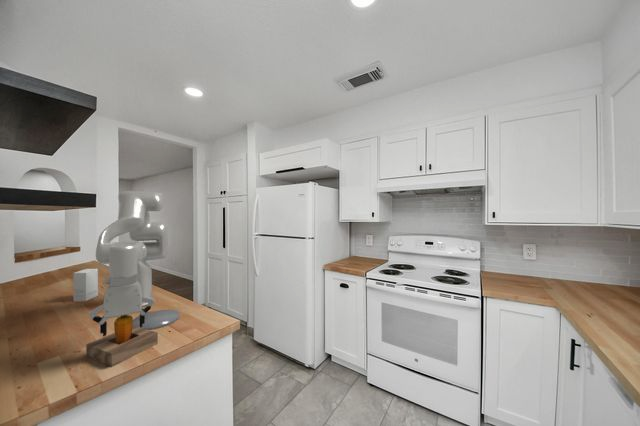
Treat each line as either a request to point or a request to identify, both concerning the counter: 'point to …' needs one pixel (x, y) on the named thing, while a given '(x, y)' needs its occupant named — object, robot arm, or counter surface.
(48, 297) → the counter surface
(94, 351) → the pocket block
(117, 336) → the carrot
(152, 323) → the plate
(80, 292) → the skincare box
